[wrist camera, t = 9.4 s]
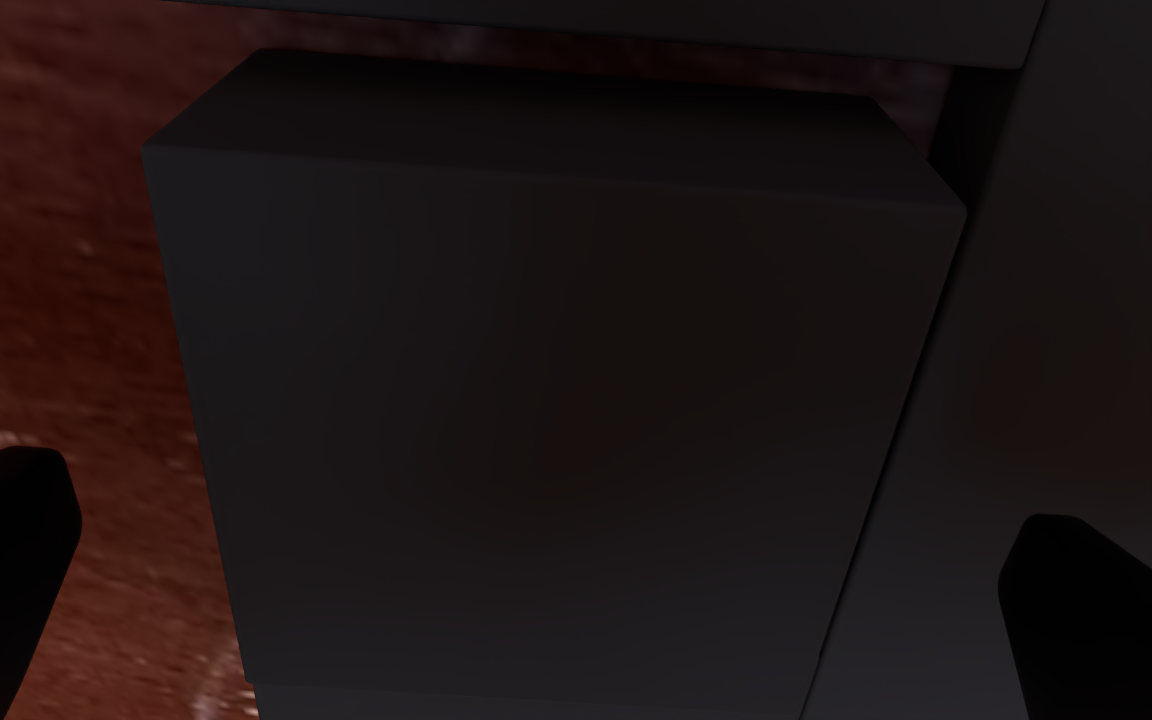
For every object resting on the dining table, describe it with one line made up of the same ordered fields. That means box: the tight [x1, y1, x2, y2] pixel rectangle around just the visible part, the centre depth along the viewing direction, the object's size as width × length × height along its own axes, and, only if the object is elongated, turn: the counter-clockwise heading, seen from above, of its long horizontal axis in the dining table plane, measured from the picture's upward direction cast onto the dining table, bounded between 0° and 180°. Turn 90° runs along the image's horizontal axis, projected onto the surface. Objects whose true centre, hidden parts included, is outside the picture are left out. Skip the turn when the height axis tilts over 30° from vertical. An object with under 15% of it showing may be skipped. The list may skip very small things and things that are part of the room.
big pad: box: [161, 0, 1152, 720], centre depth 11 cm, size 13×14×2 cm
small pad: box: [141, 49, 967, 716], centre depth 10 cm, size 7×7×3 cm
